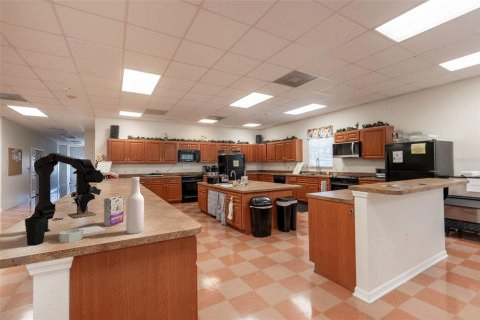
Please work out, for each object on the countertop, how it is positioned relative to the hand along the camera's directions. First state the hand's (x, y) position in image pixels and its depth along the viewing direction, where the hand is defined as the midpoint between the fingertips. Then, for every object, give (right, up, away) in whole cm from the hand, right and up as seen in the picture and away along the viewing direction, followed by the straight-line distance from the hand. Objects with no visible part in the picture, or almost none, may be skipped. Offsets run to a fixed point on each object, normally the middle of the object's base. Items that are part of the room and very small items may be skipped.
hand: (82, 211), depth 120 cm
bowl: (+1, -12, -9) cm, 15 cm away
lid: (0, -2, 0) cm, 2 cm away
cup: (-11, -12, -15) cm, 22 cm away
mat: (0, -12, +6) cm, 13 cm away
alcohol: (+26, -12, +4) cm, 29 cm away
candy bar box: (+5, -13, +21) cm, 25 cm away
